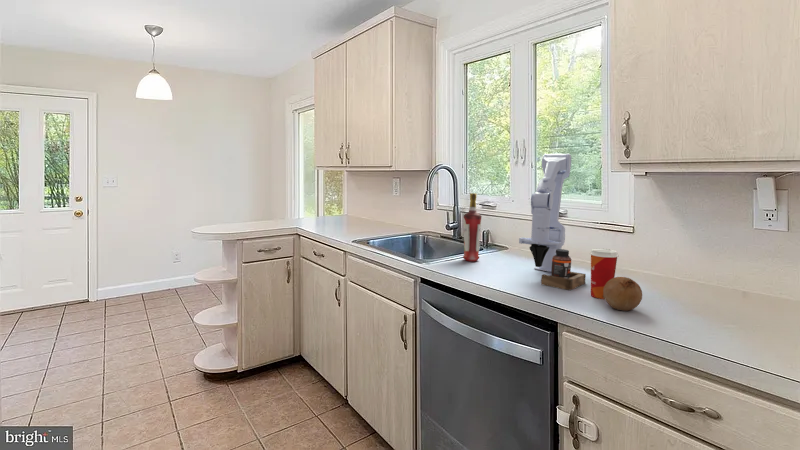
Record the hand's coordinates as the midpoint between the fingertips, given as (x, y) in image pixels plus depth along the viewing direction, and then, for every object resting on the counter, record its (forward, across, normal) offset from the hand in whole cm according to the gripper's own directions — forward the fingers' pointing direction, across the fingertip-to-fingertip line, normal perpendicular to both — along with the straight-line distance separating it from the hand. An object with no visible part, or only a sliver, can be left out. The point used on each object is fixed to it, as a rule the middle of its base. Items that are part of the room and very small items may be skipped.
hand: (538, 266), depth 146 cm
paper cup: (+4, +23, -6) cm, 24 cm away
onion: (+4, +31, -14) cm, 34 cm away
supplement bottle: (+5, +8, 0) cm, 9 cm away
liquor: (+5, -34, +9) cm, 35 cm away
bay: (+4, +9, 0) cm, 10 cm away
